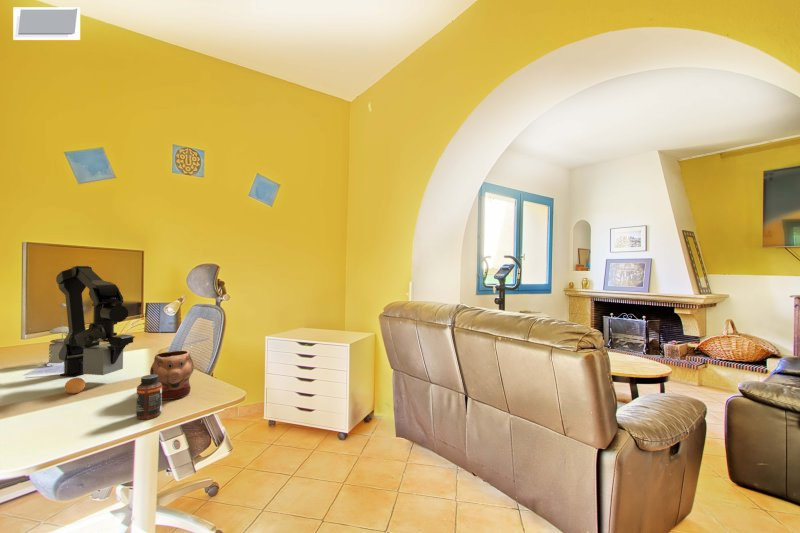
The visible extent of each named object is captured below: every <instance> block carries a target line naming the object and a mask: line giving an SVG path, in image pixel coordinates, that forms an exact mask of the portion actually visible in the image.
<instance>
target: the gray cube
mask: <svg viewBox="0 0 800 533" xmlns="http://www.w3.org/2000/svg"><path fill="white" fill-rule="evenodd" d="M107 346H111V345H110V344H109V343H101V344H99V345H97V346H93V347H88V348H84V350H83V374H82V375H93V376H105V375H108V374H112V373H114V372H117V371H120V370H123V369H124V349H123V350H122V352H121V354H120V355H119V357H118V359H117V361H116V362H115V364H111V354H110V349H109V348H108V347H107Z"/></svg>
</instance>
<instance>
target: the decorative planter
mask: <svg viewBox="0 0 800 533" xmlns="http://www.w3.org/2000/svg"><path fill="white" fill-rule="evenodd" d="M194 368H195V365H194V361H193V359H192V357H191V353H190V352H189V351H188V350H173V351H164V352H159V353H157V354H155V356H154V360H153V363H152V364H151V366H150V370H149V375H153V374H156V375H158V381H159V382H161V384H162V400H173V399H179V398H183V397H186V396H189V395H190V392H191V387H192V386H191V385H190V384H191V383H190V379H191V376H192V374H193V372H194V370H195V369H194Z"/></svg>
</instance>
